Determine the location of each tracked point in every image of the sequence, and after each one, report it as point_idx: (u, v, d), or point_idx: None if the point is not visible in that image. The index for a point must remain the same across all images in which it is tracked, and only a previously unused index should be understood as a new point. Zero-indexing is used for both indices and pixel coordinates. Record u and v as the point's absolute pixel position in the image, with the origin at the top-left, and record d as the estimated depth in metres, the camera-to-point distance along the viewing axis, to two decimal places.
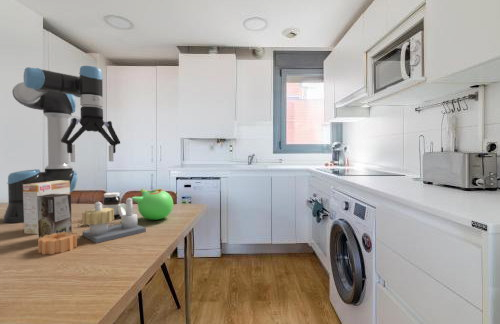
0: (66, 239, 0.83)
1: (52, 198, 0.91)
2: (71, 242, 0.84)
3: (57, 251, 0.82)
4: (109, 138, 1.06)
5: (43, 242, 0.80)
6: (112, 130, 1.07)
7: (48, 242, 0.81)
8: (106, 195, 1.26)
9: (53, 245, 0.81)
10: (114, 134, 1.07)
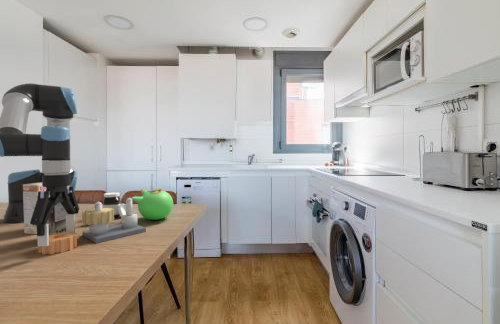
0: (66, 239, 0.83)
1: None
2: (71, 242, 0.84)
3: (57, 251, 0.82)
4: None
5: None
6: None
7: None
8: (106, 195, 1.26)
9: (53, 245, 0.81)
10: None
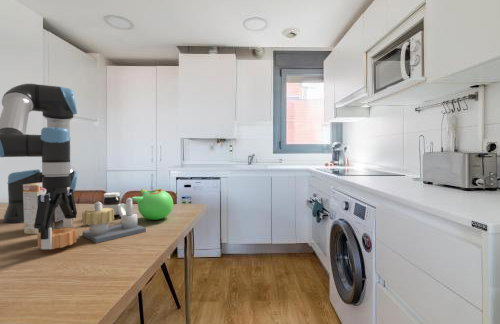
0: (66, 234, 0.84)
1: None
2: (71, 237, 0.85)
3: (57, 246, 0.82)
4: None
5: None
6: None
7: None
8: (106, 195, 1.26)
9: (53, 240, 0.81)
10: None
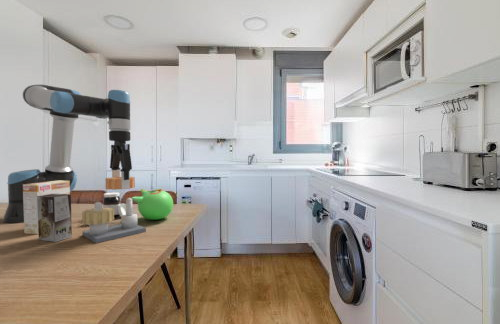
0: None
1: (52, 198, 0.91)
2: (134, 181, 1.05)
3: None
4: (121, 163, 0.98)
5: None
6: (122, 154, 0.97)
7: None
8: (106, 195, 1.26)
9: None
10: (123, 158, 0.97)
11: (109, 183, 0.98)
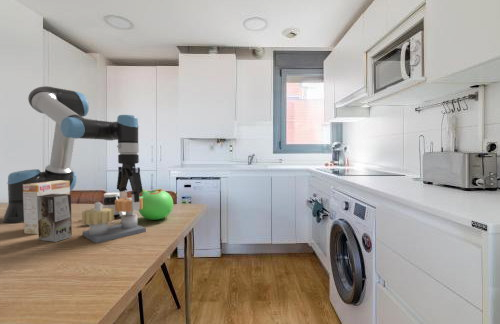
0: None
1: (52, 198, 0.91)
2: None
3: None
4: (131, 185, 1.02)
5: (131, 201, 1.02)
6: (133, 177, 1.00)
7: None
8: (106, 195, 1.26)
9: None
10: (134, 182, 1.00)
11: (119, 205, 1.01)
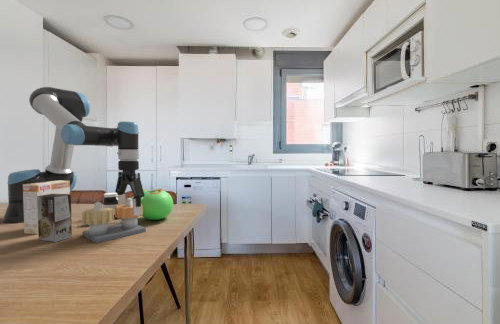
0: (141, 205, 1.07)
1: (52, 198, 0.91)
2: (142, 208, 1.09)
3: None
4: (132, 191, 1.01)
5: (131, 208, 1.02)
6: (134, 182, 1.00)
7: None
8: (106, 195, 1.26)
9: None
10: (135, 187, 1.00)
11: (119, 212, 1.01)
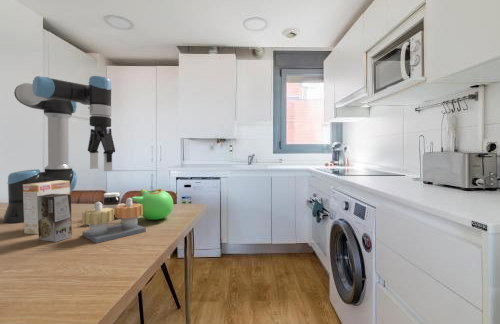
0: None
1: (52, 198, 0.91)
2: (142, 208, 1.09)
3: (139, 214, 1.05)
4: (103, 146, 1.00)
5: (131, 208, 1.02)
6: (104, 137, 0.99)
7: (134, 208, 1.03)
8: (106, 195, 1.26)
9: (138, 210, 1.04)
10: (106, 141, 0.99)
11: (119, 212, 1.01)
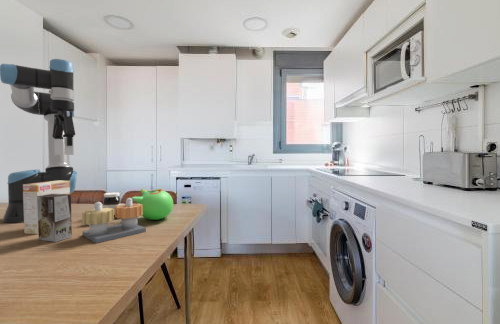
0: None
1: (52, 198, 0.91)
2: (142, 208, 1.09)
3: (139, 214, 1.05)
4: (64, 129, 0.98)
5: (131, 208, 1.02)
6: (64, 120, 0.97)
7: (134, 208, 1.03)
8: (106, 195, 1.26)
9: (138, 210, 1.04)
10: (65, 124, 0.97)
11: (119, 212, 1.01)
